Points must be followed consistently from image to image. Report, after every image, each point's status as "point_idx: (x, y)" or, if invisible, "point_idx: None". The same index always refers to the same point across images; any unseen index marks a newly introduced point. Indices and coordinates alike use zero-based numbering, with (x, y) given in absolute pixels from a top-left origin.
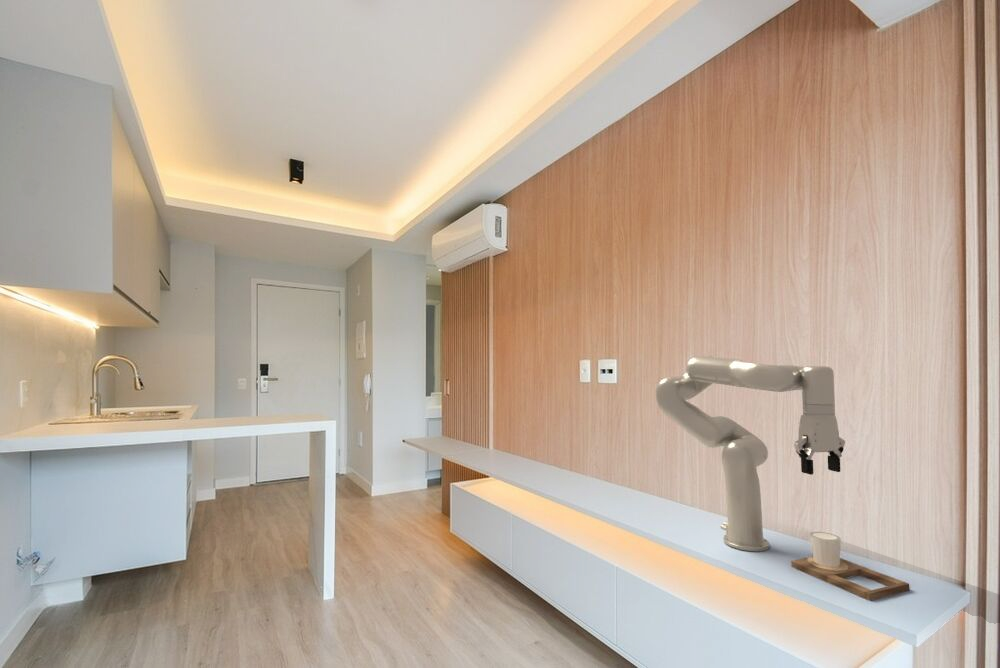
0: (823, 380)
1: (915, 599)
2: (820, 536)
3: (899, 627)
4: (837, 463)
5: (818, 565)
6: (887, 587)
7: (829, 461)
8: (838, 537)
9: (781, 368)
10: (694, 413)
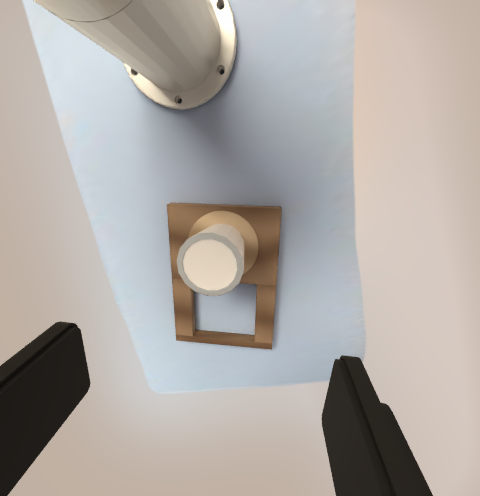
0: None
1: (246, 358)
2: (198, 261)
3: (148, 379)
4: (338, 493)
5: None
6: (224, 341)
7: (355, 439)
8: (231, 286)
9: None
10: None
